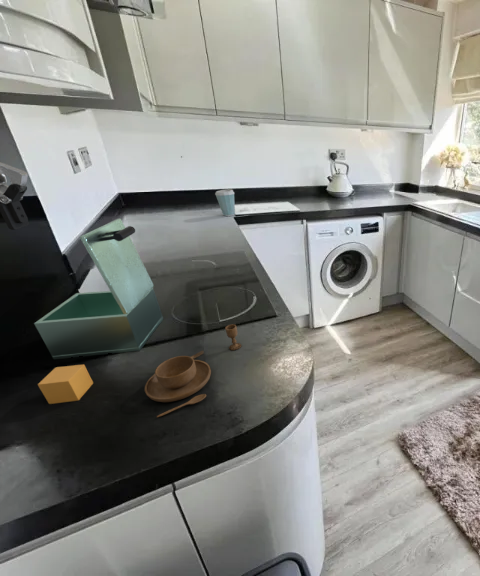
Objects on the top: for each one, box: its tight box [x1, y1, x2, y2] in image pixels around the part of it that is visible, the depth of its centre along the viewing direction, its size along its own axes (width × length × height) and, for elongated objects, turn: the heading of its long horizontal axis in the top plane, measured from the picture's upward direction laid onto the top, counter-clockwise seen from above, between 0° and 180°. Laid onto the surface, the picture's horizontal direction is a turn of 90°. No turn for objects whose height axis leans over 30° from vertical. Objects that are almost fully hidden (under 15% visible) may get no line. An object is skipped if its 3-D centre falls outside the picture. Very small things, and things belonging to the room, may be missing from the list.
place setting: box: [144, 323, 242, 418], centre depth 69 cm, size 18×20×6 cm
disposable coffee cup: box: [214, 188, 236, 217], centre depth 197 cm, size 11×11×15 cm
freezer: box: [33, 287, 164, 360], centre depth 81 cm, size 18×15×10 cm
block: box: [37, 364, 94, 405], centre depth 64 cm, size 5×5×5 cm
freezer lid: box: [79, 218, 155, 314], centre depth 76 cm, size 19×15×5 cm
